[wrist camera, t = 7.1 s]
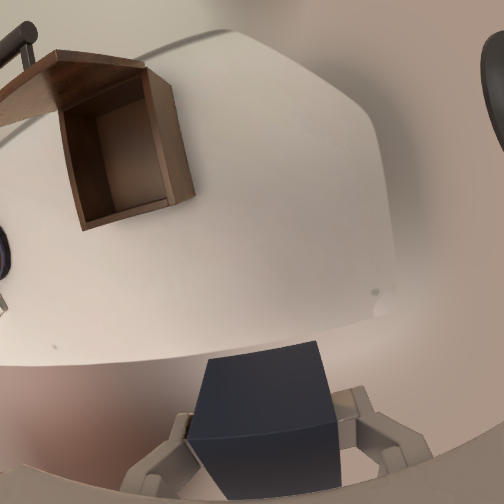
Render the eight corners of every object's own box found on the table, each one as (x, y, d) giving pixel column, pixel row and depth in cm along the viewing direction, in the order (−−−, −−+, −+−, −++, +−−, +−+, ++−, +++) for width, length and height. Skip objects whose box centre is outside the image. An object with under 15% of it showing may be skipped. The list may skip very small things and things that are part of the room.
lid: (58, 60, 11) (46, -13, 8) (-46, 145, 12) (-58, 85, 9) (146, 68, 24) (134, 23, 21) (56, 111, 25) (45, 70, 22)
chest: (195, 195, 36) (176, 204, 28) (115, 217, 37) (82, 231, 29) (171, 85, 32) (146, 66, 24) (93, 116, 33) (57, 108, 25)
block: (315, 339, 11) (337, 420, 7) (326, 412, 12) (341, 487, 8) (208, 358, 12) (186, 439, 7) (235, 427, 13) (227, 500, 9)
